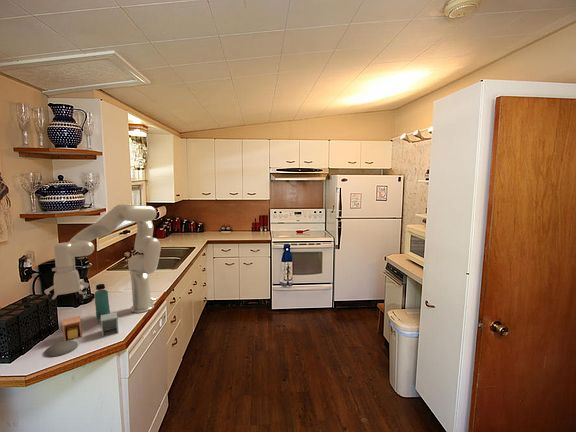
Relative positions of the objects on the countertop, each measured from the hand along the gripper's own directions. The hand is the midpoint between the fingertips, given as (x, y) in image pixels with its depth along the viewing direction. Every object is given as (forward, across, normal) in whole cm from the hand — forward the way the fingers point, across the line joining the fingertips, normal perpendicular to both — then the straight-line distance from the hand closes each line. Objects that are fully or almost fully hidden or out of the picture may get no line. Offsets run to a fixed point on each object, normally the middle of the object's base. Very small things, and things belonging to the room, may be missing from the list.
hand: (68, 304), depth 151 cm
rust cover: (+16, +1, 0) cm, 16 cm away
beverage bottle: (+16, +14, +11) cm, 24 cm away
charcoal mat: (+16, -4, -11) cm, 20 cm away
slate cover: (+16, +16, -6) cm, 23 cm away
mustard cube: (+16, +1, 0) cm, 16 cm away
